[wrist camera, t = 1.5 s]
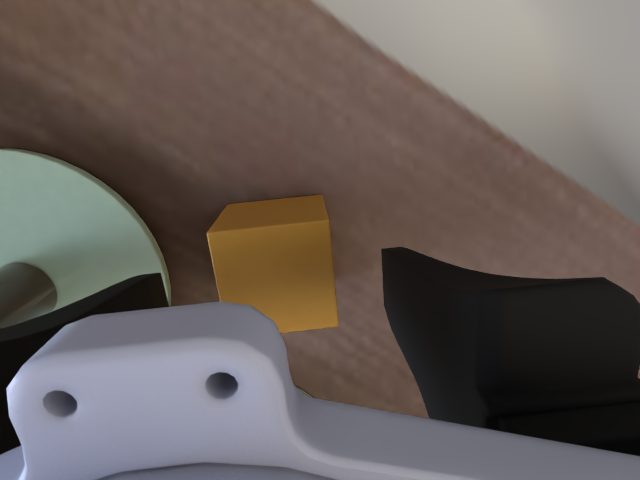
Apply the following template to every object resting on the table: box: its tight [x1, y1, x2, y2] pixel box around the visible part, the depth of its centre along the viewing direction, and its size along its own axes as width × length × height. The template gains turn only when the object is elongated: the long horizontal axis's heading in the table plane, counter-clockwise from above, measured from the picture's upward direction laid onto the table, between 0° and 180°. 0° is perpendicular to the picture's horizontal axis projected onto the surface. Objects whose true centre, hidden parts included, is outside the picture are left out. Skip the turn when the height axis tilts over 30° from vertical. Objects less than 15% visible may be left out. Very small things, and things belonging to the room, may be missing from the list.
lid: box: [0, 148, 171, 329], centre depth 15 cm, size 11×11×4 cm
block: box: [207, 194, 339, 333], centre depth 15 cm, size 4×4×4 cm
